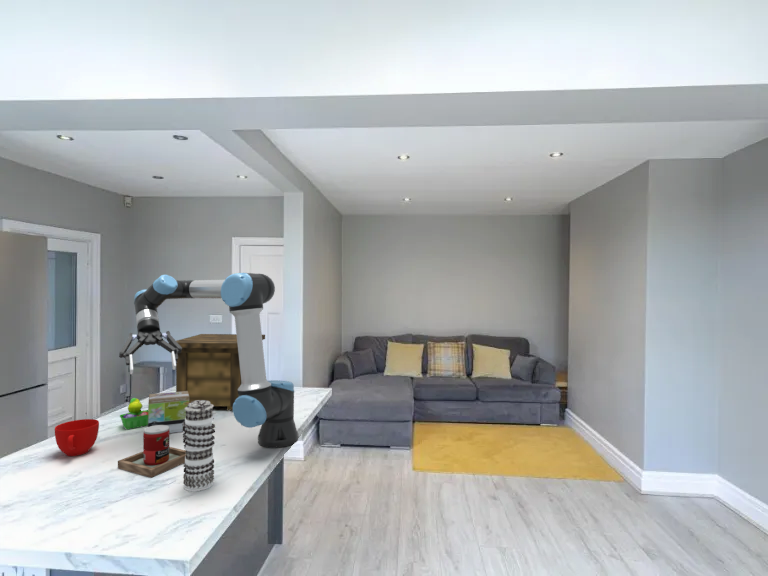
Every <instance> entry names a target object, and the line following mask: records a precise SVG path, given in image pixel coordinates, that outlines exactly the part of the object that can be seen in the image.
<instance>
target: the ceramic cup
mask: <svg viewBox="0 0 768 576" xmlns="http://www.w3.org/2000/svg"><path fill="white" fill-rule="evenodd" d="M99 429H100V421H99V420H98V419H93V418H85V419H84V418H83V419H76V420H69V421H67V422H63V423H60V424H57V425H56V426H55V427H54V438H55V442H56V444H57V445H56V446H57V447H58V449H59V451H61V452H62V453H63V454H65V456H67V457H76V456H77V457H78V456H81V455H85V454H87V453H88V452H89V451H90V450H91V449H92V447H93V446H94V444H95V443H96V441H97V438H98V435H99Z"/></svg>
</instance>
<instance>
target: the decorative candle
mask: <svg viewBox="0 0 768 576" xmlns="http://www.w3.org/2000/svg"><path fill="white" fill-rule="evenodd" d="M214 407H215V406H214V405H212V404H211V403H210V402H209V401H207V400H197V401H193V402H191V403H189V404H188V406H187V407H185V410H186V418H185V421H184V422H182V423H183V424H182V425H183V429H182V430H183V431H184V432H183V433H182V438H183V439H182V443H183V444H184V445H183V450H186V456H185V463H183V473H184V474H183V477H182V478H183V483H182V484H183V489H184V490H185V491H187V492H199V491H200V490H201V491H204V490H207V489H209V488H211V487H213V485H214V483H215V470H214V468H215V465H214V463H215V459H214V453H213V447H214V445H215V441H214V440H215V436H214V434H215V433H216V430H215V429H214V428H216V425H215V424H214V423H213V422H214V419H215V418H214V414H213V408H214ZM185 428H186V430H185Z"/></svg>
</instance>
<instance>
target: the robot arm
mask: <svg viewBox="0 0 768 576" xmlns="http://www.w3.org/2000/svg"><path fill="white" fill-rule="evenodd" d="M275 290H276V287H275V283H274V281H273V280H272V278H271V277H269V275H267V274H264V273H251V272H238V273H232V274H230V275H228V276H227V277H226V278H225V279H200V280H199V279H197V280H195V279H194V280H193V279H192V280H191V279H189V280H188V279H187V280H177V279H175V278H174V277H173V276H171V275H169V274H161V275H160V276H159V277H158V278H156V279H155V280H154V281H153V282H152V283H151V285H150V286H149V287H148V288H147V289H140V291H137V292H136V293H135V295H134V296H133V297H134V300H133V301H134V302H133V304H134V311H135V319H136V328H137V331H136V332H137V334H133V332H129V333H128V338H127V339H126V341H125V343H124V345H123V346H122V348H121V349H120V351H119V355H118V357H119V358H120V359H122V358H124V360H125V366H129V373H130V375H134V363H133V355H134V354H135V353H136V352H137V351H138V350H139V349H140V348H142V347H143V346H144V345H145V346H149V345H153V346H155V345H157V346H158V347H161V348H163V349H164V350H166V351H167V352H169V353H170V360H171V366H172V370H173V371H176V361H177V360H178V354H177V353H181V351H182V347H181V346H180V345H179V344H178V343H177V342H176V341H177V340H176V339H175V338H174V337H173V336H172V335H171V332H170V331H169V330H166V332H161V326H160V321H159V314H158V313H159V312H158V308H159V307H160V305H162V304H163V303H164V302H165V301H166V300H175V299H176V300H179V299H181V300H182V299H183V300H184V299H185V300H186V299H221V300H222V301H223V302H224V304H225V305H227V307H228V311H229V313H230V314H231V315H232V316H233V317H234V322H235V323H234V325H235V333H236V334H237V344H238V354H239V363H240V373H241V385H240V387H239V388H238V398H237V399H236V400H235V402H234V403H233V411H232V414H233V416H234V418H235V420H236V422H238V423H239V424H240V425H241V426H243V427H244V428H249V429H250V428H251V429H252V428H256V427H259V426H260V429H259V433H258V435H257V444H258V445H260V446H262V447H265V448H271V449H272V448H275V449H276V448H278V449H279V448H284V447H288V446H292V445H294V444H296V443H297V442H298V441H299V433H298V430H297V426H296V423H295V417H294V416H295V415H294V414H295V413H294V412H295V410H294V409H295V387H294V386H295V385H294V383H293V382H292V381H287V380H273V379H272V380H271V379H270V380H267V373H266V363H265V355H264V343H263V340H262V335H263V333H262V326H261V323H262V322H261V315H260V314H261V312H262V311H263V310H264V304H267V303H268V302H270V300H272V299H273V297H274V295H275V293H276V291H275ZM135 339H136V340H137V342H136V343H135V344H133V345H132V346H131V344H132V343H133V341H135ZM165 340H166V341H165ZM169 343H170V344H171V345H170V344H169ZM130 346H131V347H130Z"/></svg>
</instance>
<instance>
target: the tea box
mask: <svg viewBox="0 0 768 576" xmlns="http://www.w3.org/2000/svg"><path fill="white" fill-rule="evenodd" d="M147 402H148V404H147V406H148V407H147V410H148V426H147V427H150V426H155V425H166V426H169V434H173V433H181V432H183V430H182V429H183V425H182V424H183V423H182V422H184V421H185V418H186V410H185V407H187V406H188V404H189V394H188V391H182V392H176V391H172V392H170V391H169V392H160V393H159V392H158V393H149V394H148V401H147ZM185 430H186V428H185ZM183 433H184V432H183Z"/></svg>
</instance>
